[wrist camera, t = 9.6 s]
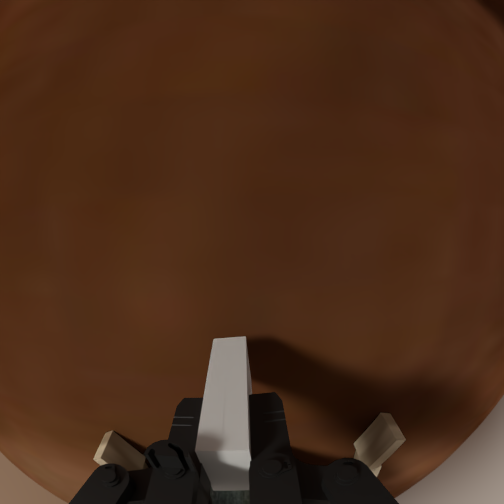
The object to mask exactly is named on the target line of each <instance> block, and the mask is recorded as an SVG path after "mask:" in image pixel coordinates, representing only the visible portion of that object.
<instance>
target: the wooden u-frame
mask: <svg viewBox="0 0 504 504" xmlns="http://www.w3.org/2000/svg"><path fill="white" fill-rule="evenodd" d="M405 441H406V439H405V437H404V435H403V434H402V432H401V430H400V429H399V427H398V426H397V424H396V422H395V421H394V419H393V417H392V416H391V414H390V413H380V414H379V415H378V417H377V418H376V419H375V420H374V421H373V423H372V424H371V425H370V426H369V427H368V428H367V429H366V431H365V432H364V433H363V434H362V435H361V436H360V437H359V438H358V439H357V440H356V441H355V443H354V446H355V448H356V451H355V455H354V459H357V460H360V461H362V462H363V463H365V464H366V465H367V466H368V467H369V469H370V470H371V471H372V472H373V474H374V475H375V476H376V477H377V475H378V473H379V471H380V469H381V467H382V466H381V464H382V463H383V462H385V461H386V460H387V459H388V458H389V457H390V456H391V455H392V454H393V453H394V452H395V451H396V450H397V449H398V448H399V447H400V446H401V445H402V444H403V443H404V442H405ZM145 459H146V457H145V456H144V455H142V454H141V453H140V452H139V451H137V450H136V449H135V448H133V447H132V446H131V445H130V444H128V443H127V442H126V441H125V440H123V439H122V438H121V437H120V436H119V435H118V434H116V433H115V432H114V431H110V432H107V433H105V435H104V437H103V439H102V442H101V444H100V446H99V448H98V450H97V452H96V454H95V457H94V460H95V461H96V462H97V463H99V464H100V465H104V464H109V463H114V464H118V465H121V466H122V467H124V468H125V469H126V470H127V471H132V470H141V469H146V468H149V467H148V466H147V464H146V463H145Z"/></svg>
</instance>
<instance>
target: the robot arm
mask: <svg viewBox="0 0 504 504" xmlns="http://www.w3.org/2000/svg"><path fill="white" fill-rule="evenodd" d="M144 455H145V456H146V458H147V460H148V461H149V463H150V464H151V466H152V467H150V468H146V469H141V470H132V471H127V470H126V469H125V468H124V467H122V466H121V465H118V464H114V463H109V464H104V465H101V466H99V467H98V468H97V469H96V470H95V471H94V472H93V473H92V475H91V476H90V477H89V478H88V480H87V481H86V482H85V484H84V485H83V486H82V487H81V489H80V490H79V491H78V493H77V494H76V495H75V496H74V498H73V499H72V500H71V502H70V503H69V504H213V502H212V498H211V496H210V490H211V487H212V489H213V491H238V490H249V497H250V504H399V503H398V502H397V501H396V500H395V499H394V497H393V496H392V495H391V494H390V493H389V492H388V490H387V489H386V488H385V487H384V486H383V484H382V483H381V482H380V481H379V480H378V478H377V477H376V476H375V475H374V474H373V472H372V471H371V470H370V469H369V467H368V466H367V465H366V464H365V463H363V462H362V461H360V460H357V459H354V458H343V459H339V460H336V461H334V462H333V463H331V464H329V465H328V466H318V465H310V464H305V463H303V462H301V461H299V460H298V459H296V458H295V456H294V455H293V454H292V451H291V447H290V442H289V436H288V431H287V425H286V420H285V414H284V409H283V403H282V400H281V399H280V397H279V396H278V395H277V394H276V393H275V392H272V393H262V394H252V384H251V374H250V366H249V359H248V351H247V342H246V336H244V337H232V338H218V339H214V340H213V345H212V351H211V357H210V362H209V368H208V374H207V380H206V386H205V392H204V398H184V399H183V400H182V401H181V402H180V403H179V405H178V406H177V408H176V412H175V415H174V419H173V423H172V427H171V431H170V434H169V438H168V440H160V441H158V442H155V443H153V444H151V445H150V446H149V447H148V448H147V449H146V451H145V452H144Z"/></svg>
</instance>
